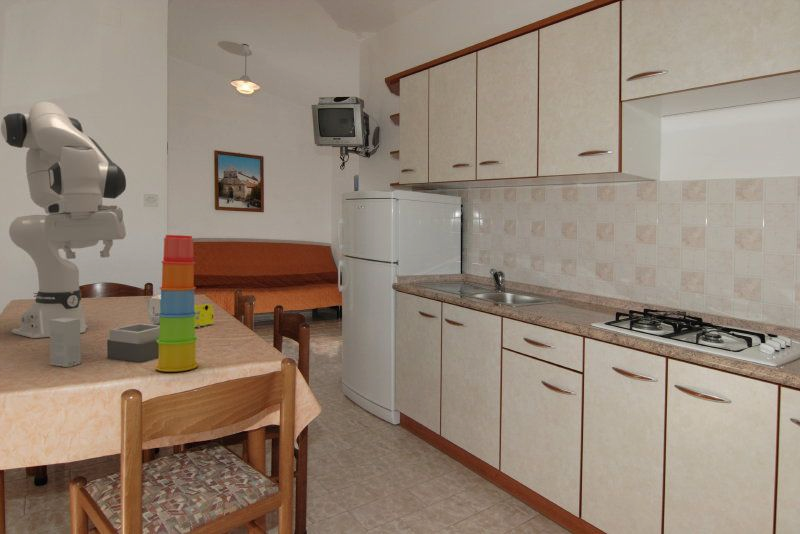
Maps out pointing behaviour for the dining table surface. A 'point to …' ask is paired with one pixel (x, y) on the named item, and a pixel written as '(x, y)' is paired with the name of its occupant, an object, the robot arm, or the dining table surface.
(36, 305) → the robot arm
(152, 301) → the beer glass
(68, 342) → the skincare box
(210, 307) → the yellow toy chassis
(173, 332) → the stacking cups
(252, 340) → the dining table surface
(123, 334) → the grey open cubby box
